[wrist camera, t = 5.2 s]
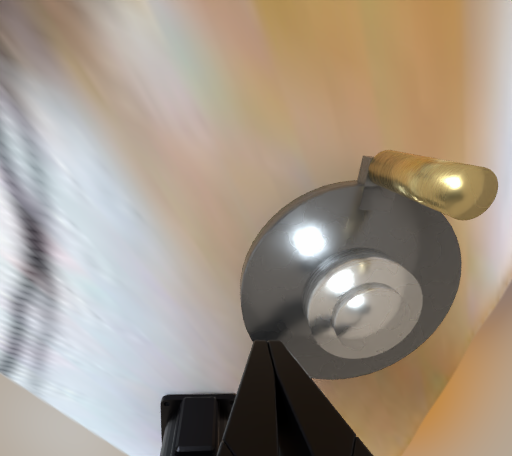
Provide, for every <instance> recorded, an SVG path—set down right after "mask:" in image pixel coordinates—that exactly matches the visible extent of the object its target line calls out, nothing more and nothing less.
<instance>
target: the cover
mask: <svg viewBox="0 0 512 456" xmlns="http://www.w3.org/2000/svg"><path fill="white" fill-rule="evenodd" d="M422 304H423V296H422V290H421V288H420V285H419V283H418V281H417V280H416V278H415V277H414V276H413V275H412V274H411V273H410V272H409V271H407V270H406V269H405V268H404V267H403V266H401V265H400V264H399V263H398V262H397V261H395V260H394V259H393V258H392V257H390V256H389V255H388V254H386V253H384V252H382V251H380V250H377V249H373V248H365V247H363V248H351V249H347V250H343V251H341V252H338V253H336V254H334V255H332V256H330V257H329V258H327V259H326V260H324V261H323V262H322V263H321V264H319V265H318V266H317V267H316V268H315V269H314V271H313V272H312V273H311V275H310V276H309V278H308V279H307V281H306V283H305V286H304V288H303V293H302V308H303V312H304V315H305V317H306V320H307V322H308V325H309V327H310V330H311V332H312V335H313V337H314V339H315V340H316V342H317V343H318V344H319V345H320V347H322V348H323V349H324V350H325V351H327V352H329V353H330V354H333V355H335V356H338V357H342V358H348V359H359V358H367V357H371V356H375V355H378V354H380V353H383V352H385V351H387V350H389V349H391V348H392V347H394V346H395V345H397V344H398V343H399V342H401V341H402V340H403V339H404V338H405V337H406V336H407V335H408V334H409V333H410V332H411V330H412V329H413V328H414V326H415V324H416V323H417V321H418V319H419V316H420V314H421V310H422Z"/></svg>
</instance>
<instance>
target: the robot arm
mask: <svg viewBox="0 0 512 456" xmlns="http://www.w3.org/2000/svg"><path fill="white" fill-rule="evenodd" d="M161 431H162V447H161V452H160V456H373V455H372V454H371V452H370V451H369V450H368V449H367V447H366V446H365V445H364V444H363V442H362V441H361V440H360V439H359V438H358V437H356V434H355V433H354V431H353V430H352V429H351V428H350V426H349V425H348V424H347V423H346V421H345V420H344V419H343V418H342V416H341V415H340V414H339V413H338V411H337V410H336V409H335V408H334V406H333V405H332V404H331V403H330V402H329V400H328V399H327V398H326V397H325V395H324V394H323V393H322V392H321V390H320V389H319V388H318V387H317V385H316V384H315V383H314V382H313V380H312V379H311V378H310V377H309V375H308V374H307V373H306V372H305V370H304V369H303V368H302V367H301V365H300V364H299V363H298V362H297V360H296V359H295V358H294V357H293V355H292V354H291V353H290V352H289V350H288V349H287V348H286V347H285V345H284V344H283V343H282V342H281V341H280V340H269V341H266V340H255V341H254V342H253V345H252V348H251V351H250V354H249V357H248V360H247V364H246V367H245V370H244V373H243V376H242V379H241V382H240V385H239V388H238V391H237V394H236V395H233V394H226V395H167V396H164V397H163V398H162V401H161Z"/></svg>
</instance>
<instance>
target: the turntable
mask: <svg viewBox="0 0 512 456" xmlns="http://www.w3.org/2000/svg"><path fill="white" fill-rule="evenodd" d="M497 190H498V181H497V178H496V176H495V174H494V173H493V172H492V171H491V170H490V169H488V168H485V167H479V166H474V165H468V164H463V163H458V162H452V161H447V160H441V159H436V158H430V157H425V156H419V155H414V154H408V153H403V152H398V151H392V150H385V151H382V152H380V153H378V154H377V155H376V156H375V157H371V156H363V158H362V163H361V167H360V172H359V176H358V181H355V180H354V181H346V182H338V183H334V184H330V185H326V186H323V187H320V188H318V189H315V190H313V191H310V192H308V193H306V194H304V195H302V196H300V197H298V198H297V199H295V200H293V201H292V202H290V203H289V204H288V205H286V206H285V207H283V208H282V209H281V210H280V211H279V212H278V213H276V214H275V215H274V216H273V217H272V218H271V219H270V220H269V221H268V222H267V224H266V225H265V226H264V227H263V228H262V229H261V231H260V232H259V234H258V235H257V237H256V238H255V240H254V241H253V243H252V245H251V247H250V249H249V251H248V253H247V256H246V259H245V262H244V265H243V268H242V274H241V280H240V295H241V307H242V314H243V320H244V323H245V326H246V329H247V331H248V333H249V335H250V337H251V339H252V341H253V342H254V341H255V340H266V341H269V340H280V341H281V342H282V343H283V344H284V345H285V347H286V348H287V349H288V350H289V352H290V353H291V354H292V355H293V357H294V358H295V359H296V360H297V362H298V363H299V364H300V365H301V367H302V368H303V369H304V370H305V372H306V373H307V374H308V375H309V377H310V378H316V379H329V380H334V379H347V378H353V377H358V376H362V375H366V374H370V373H372V372H375V371H378V370H381V369H383V368H385V367H387V366H390V365H392V364H394V363H395V362H397V361H399V360H401V359H402V358H404V357H406V356H407V355H408V354H410V353H411V352H413V351H414V350H415V349H417V348H418V347H419V346H420V345H421V344H422V343H424V342H425V341H426V340H427V339H428V338H429V337H430V335H431V334H432V333H433V332H434V331H435V330H436V329H437V327H438V326H439V325H440V324H441V322H442V321H443V319H444V318H445V316H446V314H447V313H448V311H449V309H450V307H451V305H452V303H453V301H454V299H455V296H456V293H457V290H458V287H459V281H460V276H461V254H460V248H459V244H458V240H457V237H456V235H455V233H454V231H453V229H452V226H451V225H450V224H449V222H448V221H447V219H446V218H445V216H444V215H443V214H446V215H448V216H450V217H453V218H455V219H458V220H470V219H473V218H475V217H477V216H479V215H481V214H482V213H484V212H485V211H486V210H487V209H488V208H489V207H490V205H491V204H492V203H493V201H494V199H495V197H496V194H497ZM442 213H443V214H442ZM363 247H365V248H373V249H377V250H380V251H382V252H384V253H386V254H388V255H389V256H390V257H392V258H393V259H394V260H395V261H397V262H398V263H399V264H400V265H401V266H403V267H404V268H405V269H406V270H407V271H409V272H410V273H411V274H412V275H413V276H414V277H415V278H416V280H417V281H418V283H419V285H420V288H421V290H422V296H423V304H422V310H421V314H420V316H419V319H418V321H417V323H416V324H415V326H414V328H413V329H412V330H411V332H410V333H409V334H408V335H407V336H406V337H405V338H404V339H403V340H402V341H401V342H399V343H398V344H397V345H395V346H394V347H392V348H391V349H389V350H387V351H385V352H383V353H380V354H378V355H375V356H371V357H367V358H359V359H348V358H342V357H338V356H335V355H333V354H330V353H329V352H327V351H325V350H324V349H323V348H322V347H320V345H319V344H318V343H317V342H316V340H315V339H314V337H313V335H312V332H311V330H310V327H309V325H308V322H307V320H306V317H305V315H304V312H303V308H302V293H303V288H304V286H305V283H306V281H307V279H308V278H309V276H310V275H311V273H312V272H313V271H314V269H315V268H316V267H317V266H318V265H319V264H321V263H322V262H323V261H324V260H326V259H327V258H329V257H330V256H332V255H334V254H336V253H338V252H341V251H343V250H347V249H351V248H363Z"/></svg>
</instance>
